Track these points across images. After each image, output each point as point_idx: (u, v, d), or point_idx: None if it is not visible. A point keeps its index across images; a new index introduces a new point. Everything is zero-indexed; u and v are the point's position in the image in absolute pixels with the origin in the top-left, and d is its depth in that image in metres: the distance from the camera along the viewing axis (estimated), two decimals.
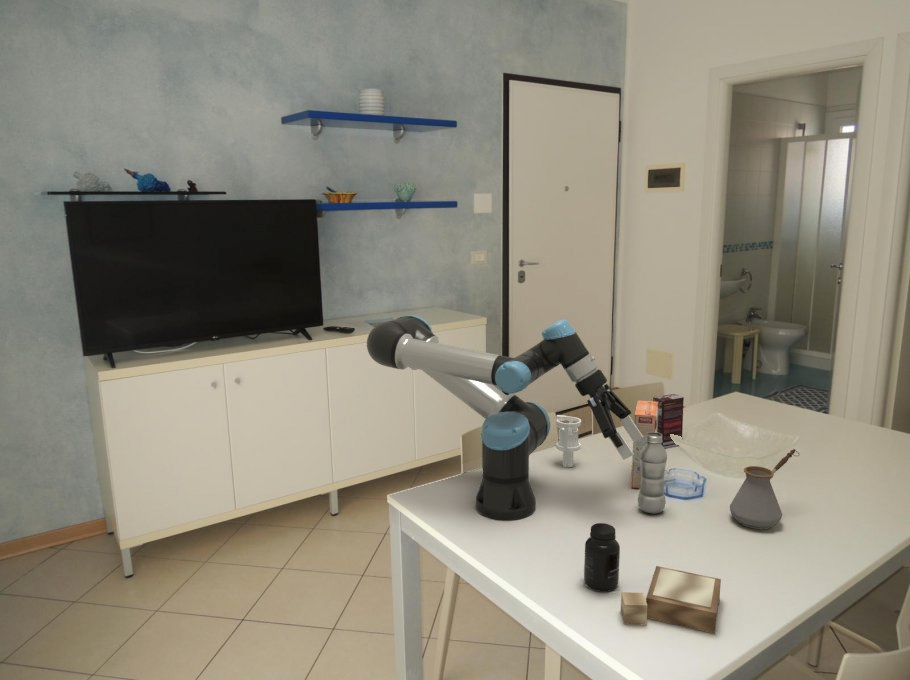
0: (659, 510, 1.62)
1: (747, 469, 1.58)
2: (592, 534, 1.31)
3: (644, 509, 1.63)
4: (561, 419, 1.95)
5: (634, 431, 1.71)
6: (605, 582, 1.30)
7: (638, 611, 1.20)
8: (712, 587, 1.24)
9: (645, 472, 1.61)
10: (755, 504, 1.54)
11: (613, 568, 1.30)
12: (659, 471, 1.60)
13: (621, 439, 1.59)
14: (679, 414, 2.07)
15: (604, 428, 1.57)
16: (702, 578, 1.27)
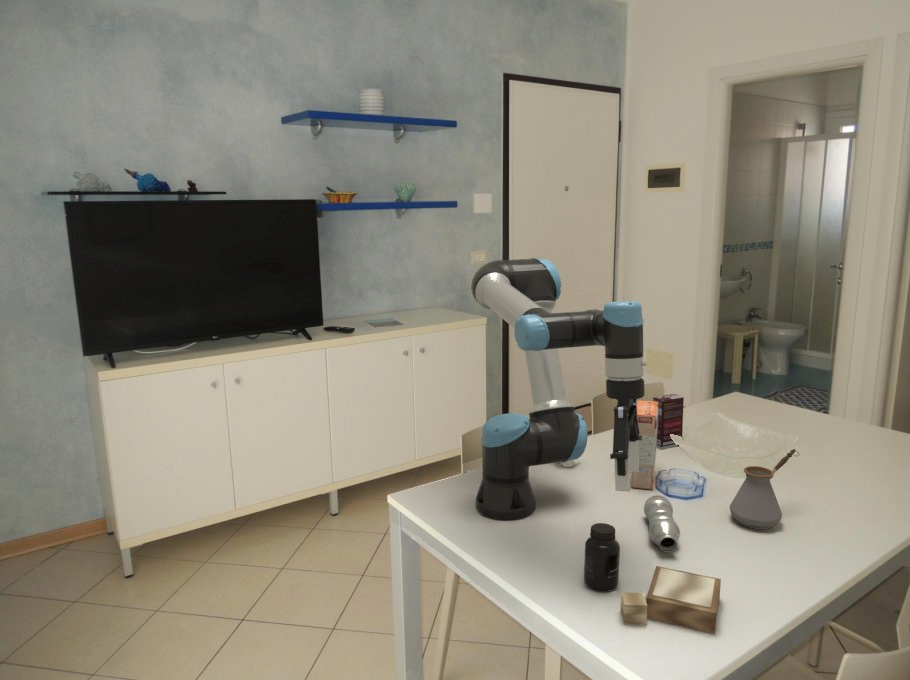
0: None
1: (747, 469, 1.58)
2: (592, 534, 1.31)
3: None
4: None
5: (633, 461, 1.42)
6: (605, 582, 1.30)
7: (638, 611, 1.20)
8: (712, 587, 1.24)
9: None
10: (755, 504, 1.54)
11: (613, 568, 1.30)
12: None
13: (627, 468, 1.29)
14: (679, 414, 2.07)
15: (618, 448, 1.27)
16: (702, 578, 1.27)
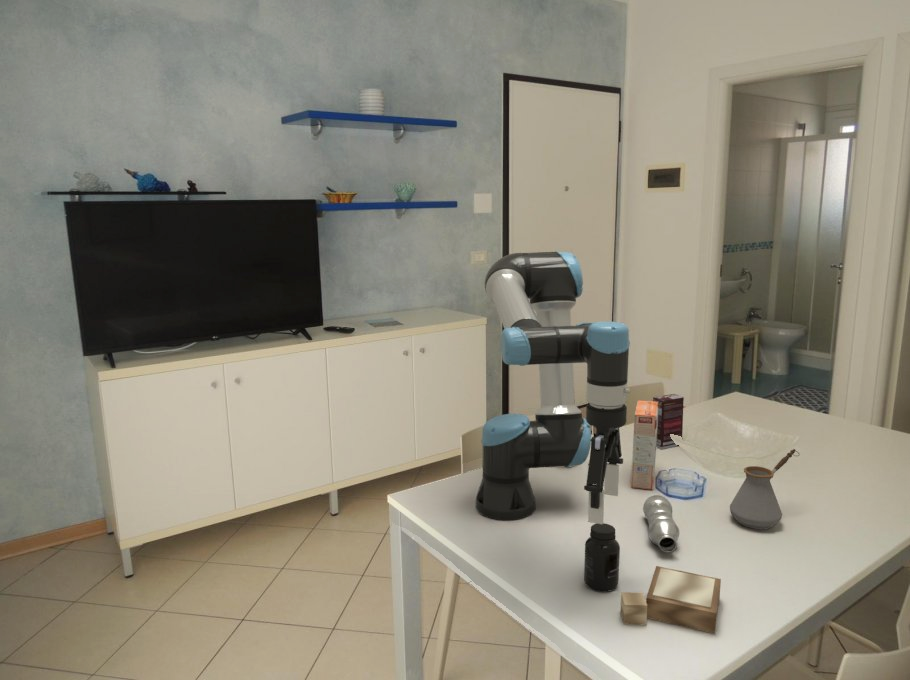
0: None
1: (747, 469, 1.58)
2: (592, 534, 1.31)
3: None
4: None
5: (613, 484, 1.36)
6: (605, 582, 1.30)
7: (638, 611, 1.20)
8: (712, 587, 1.24)
9: None
10: (755, 504, 1.54)
11: (613, 568, 1.30)
12: None
13: (601, 501, 1.23)
14: (679, 414, 2.07)
15: (592, 481, 1.20)
16: (702, 578, 1.27)
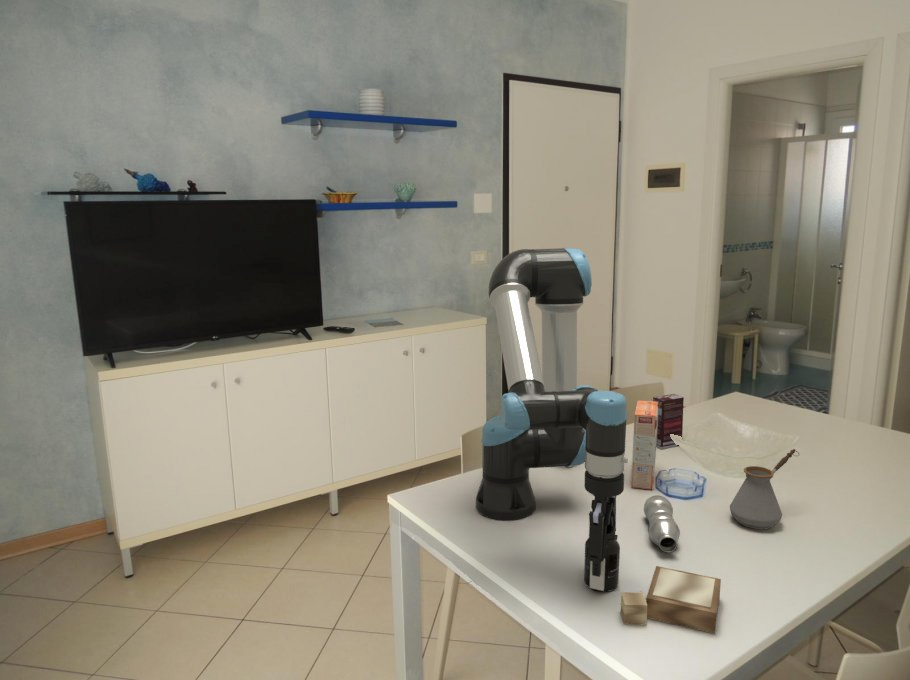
0: None
1: (747, 469, 1.58)
2: None
3: None
4: None
5: None
6: (605, 581, 1.30)
7: (638, 611, 1.20)
8: (712, 587, 1.24)
9: None
10: (755, 504, 1.54)
11: (613, 568, 1.30)
12: None
13: (602, 569, 1.29)
14: (679, 414, 2.07)
15: (593, 553, 1.26)
16: (702, 578, 1.27)
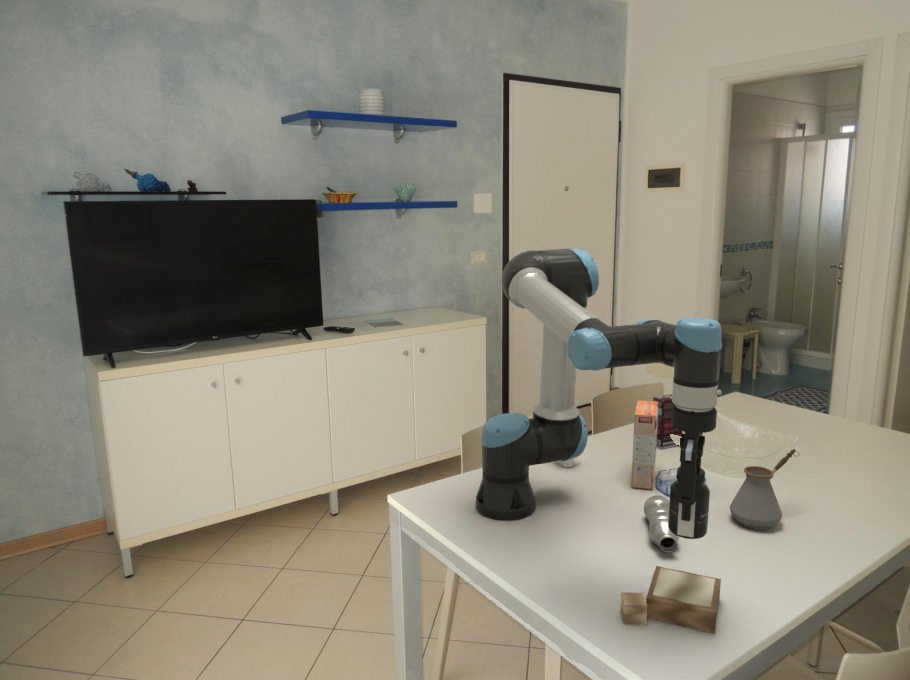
0: None
1: (747, 469, 1.58)
2: (679, 476, 1.20)
3: None
4: None
5: None
6: (695, 528, 1.19)
7: (638, 611, 1.20)
8: (712, 587, 1.24)
9: None
10: (755, 504, 1.54)
11: (703, 513, 1.19)
12: None
13: (692, 513, 1.17)
14: None
15: (684, 495, 1.14)
16: (702, 578, 1.27)
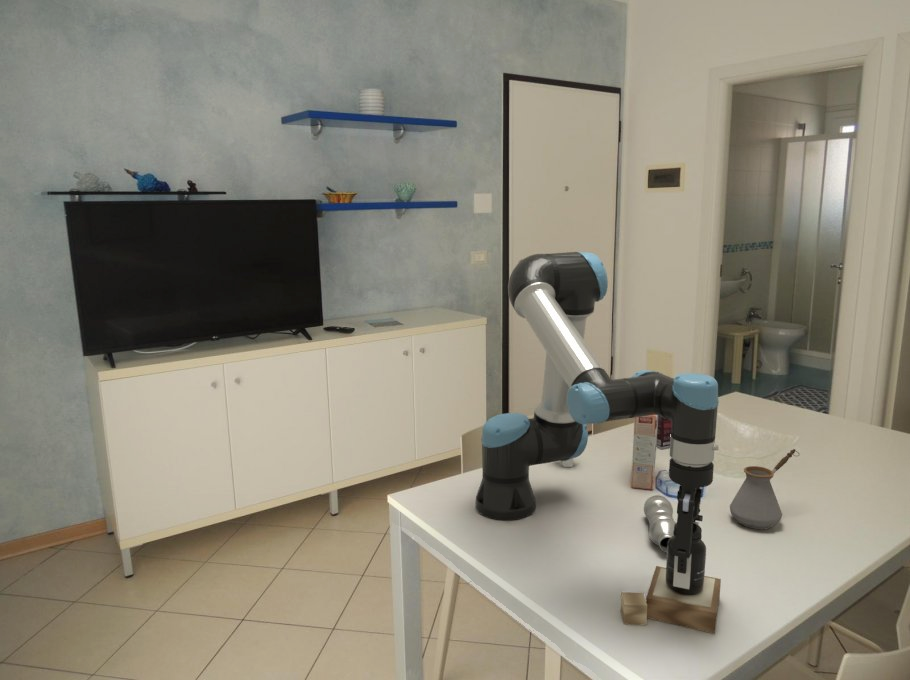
0: None
1: (747, 469, 1.58)
2: None
3: None
4: None
5: None
6: (691, 584, 1.21)
7: (638, 611, 1.20)
8: (712, 587, 1.24)
9: None
10: (755, 504, 1.54)
11: (700, 570, 1.21)
12: None
13: (688, 565, 1.17)
14: None
15: (680, 546, 1.14)
16: None
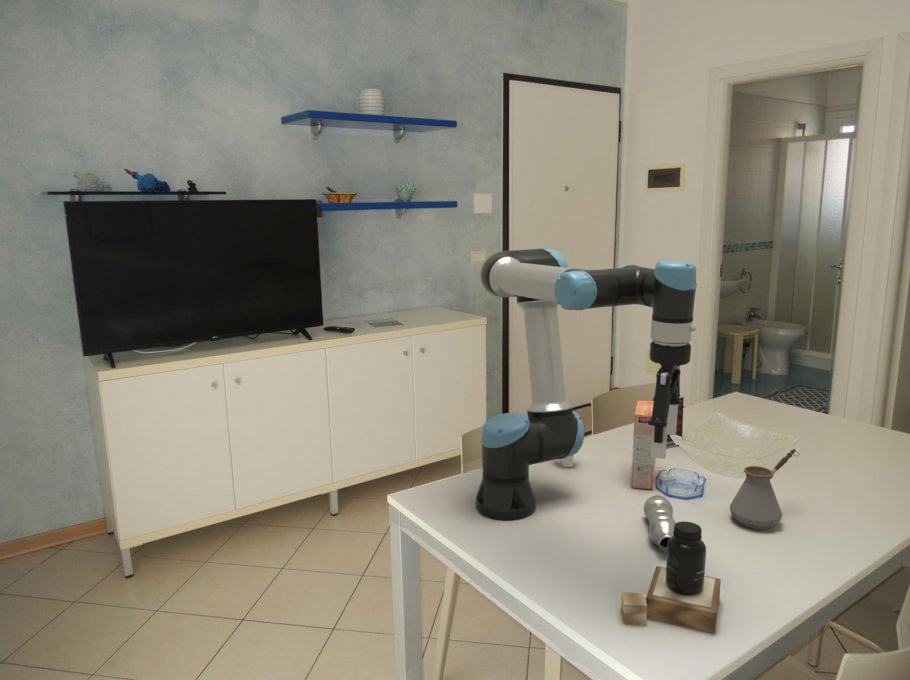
0: None
1: (747, 469, 1.58)
2: (676, 533, 1.22)
3: None
4: None
5: (671, 424, 1.38)
6: (691, 584, 1.21)
7: (638, 611, 1.20)
8: (712, 587, 1.24)
9: None
10: (755, 504, 1.54)
11: (700, 570, 1.21)
12: None
13: (664, 436, 1.25)
14: (679, 414, 2.07)
15: (657, 416, 1.23)
16: None
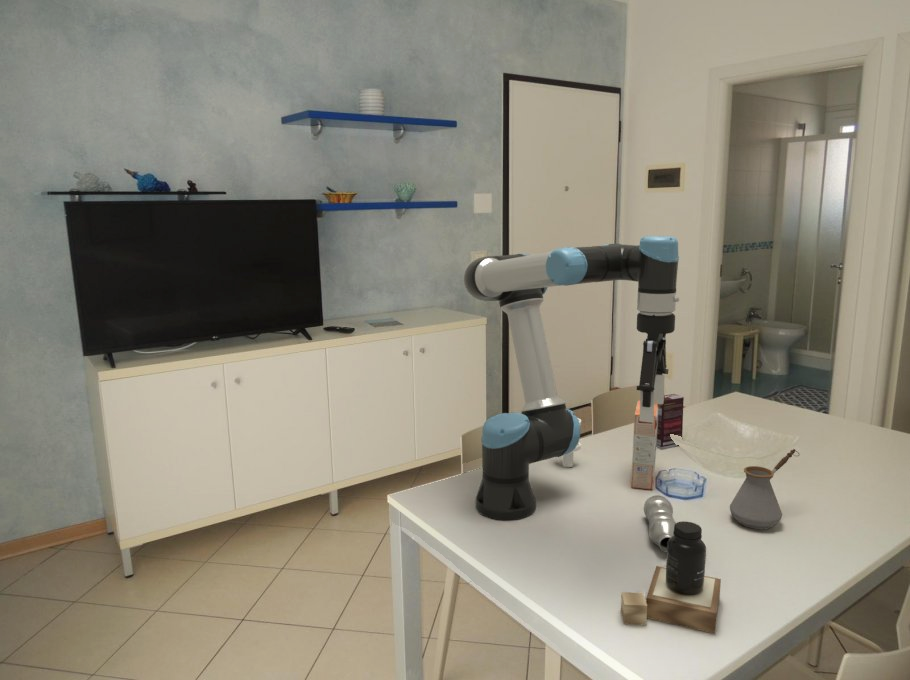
0: None
1: (747, 469, 1.58)
2: (676, 533, 1.22)
3: None
4: None
5: (658, 393, 1.45)
6: (691, 584, 1.21)
7: (638, 611, 1.20)
8: (712, 587, 1.24)
9: None
10: (755, 504, 1.54)
11: (700, 570, 1.21)
12: None
13: (652, 400, 1.33)
14: (679, 414, 2.07)
15: (644, 381, 1.30)
16: None
